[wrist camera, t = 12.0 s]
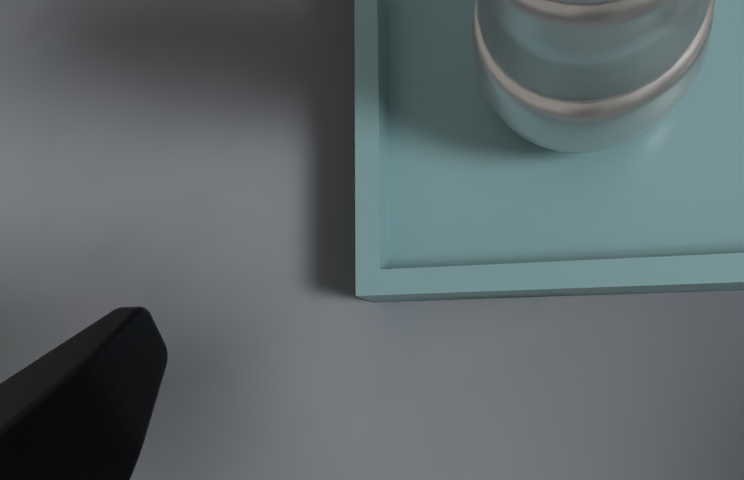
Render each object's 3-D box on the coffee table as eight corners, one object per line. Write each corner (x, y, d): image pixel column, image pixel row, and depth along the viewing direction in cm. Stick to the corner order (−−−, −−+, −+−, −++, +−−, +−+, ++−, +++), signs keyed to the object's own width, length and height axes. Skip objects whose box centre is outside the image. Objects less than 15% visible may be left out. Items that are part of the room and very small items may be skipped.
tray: (863, 285, 20) (899, 276, 18) (373, 302, 24) (355, 295, 21) (802, -160, 23) (827, -214, 20) (370, -83, 26) (353, -122, 24)
